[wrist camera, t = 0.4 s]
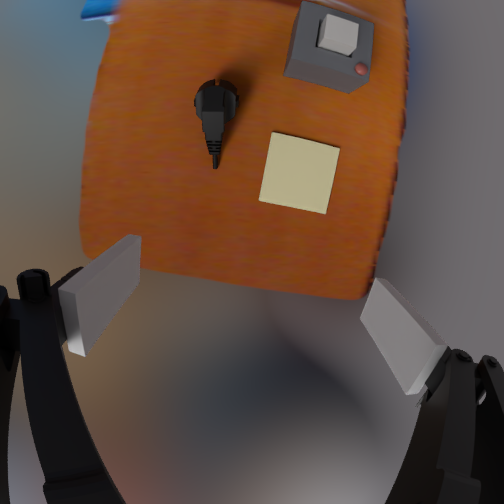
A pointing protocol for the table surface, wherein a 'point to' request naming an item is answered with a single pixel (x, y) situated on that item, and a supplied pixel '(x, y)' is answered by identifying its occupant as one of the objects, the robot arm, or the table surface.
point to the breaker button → (338, 35)
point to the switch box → (323, 61)
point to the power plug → (215, 112)
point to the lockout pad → (298, 173)
